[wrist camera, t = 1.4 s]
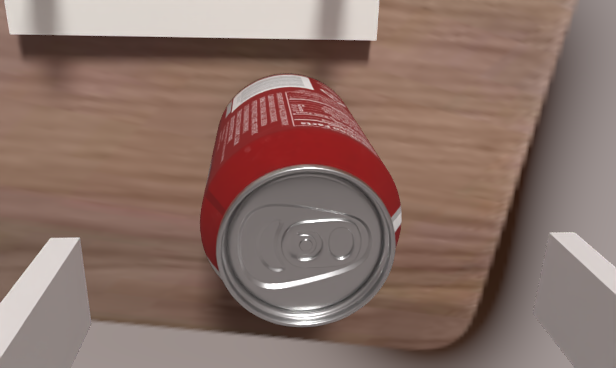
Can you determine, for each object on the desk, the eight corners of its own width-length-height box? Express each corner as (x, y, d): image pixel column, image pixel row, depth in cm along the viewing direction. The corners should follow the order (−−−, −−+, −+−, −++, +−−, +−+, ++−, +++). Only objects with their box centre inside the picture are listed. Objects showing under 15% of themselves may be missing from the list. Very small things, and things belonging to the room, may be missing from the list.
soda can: (212, 73, 27) (183, 152, 16) (352, 67, 27) (422, 140, 16) (223, 203, 29) (205, 351, 18) (352, 196, 30) (411, 336, 19)
